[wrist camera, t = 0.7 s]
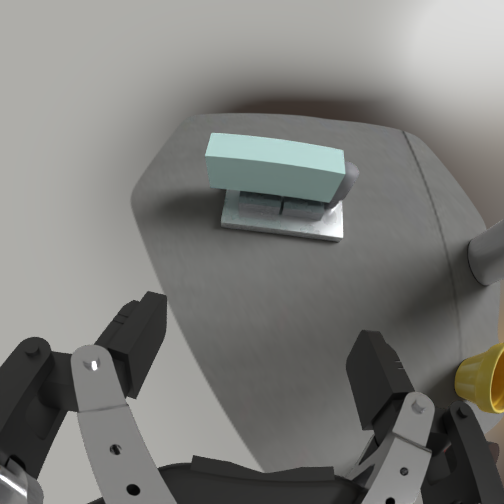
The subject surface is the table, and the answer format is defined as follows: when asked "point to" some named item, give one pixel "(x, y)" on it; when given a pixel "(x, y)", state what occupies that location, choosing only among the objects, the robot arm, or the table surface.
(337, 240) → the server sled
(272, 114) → the table surface
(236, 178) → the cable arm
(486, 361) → the plant pot
